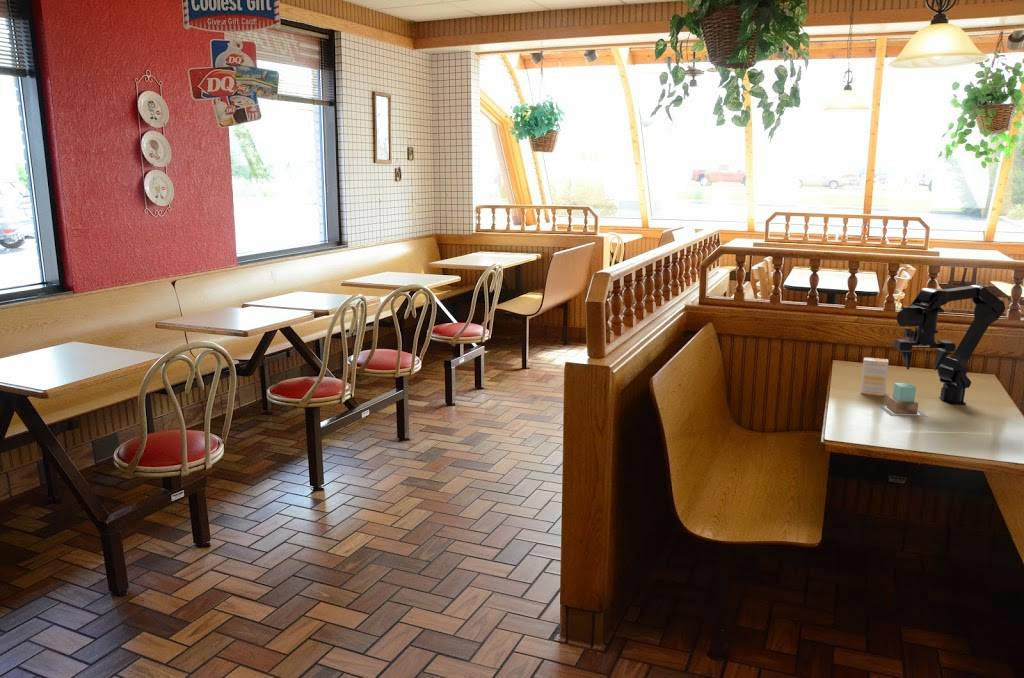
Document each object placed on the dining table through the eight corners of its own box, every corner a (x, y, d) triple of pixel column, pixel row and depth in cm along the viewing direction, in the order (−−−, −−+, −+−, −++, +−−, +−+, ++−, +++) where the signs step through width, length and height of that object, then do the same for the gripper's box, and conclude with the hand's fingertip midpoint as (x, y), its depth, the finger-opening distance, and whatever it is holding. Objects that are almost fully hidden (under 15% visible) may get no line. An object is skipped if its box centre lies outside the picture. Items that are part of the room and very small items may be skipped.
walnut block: (907, 407, 271) (909, 396, 271) (916, 414, 265) (918, 402, 264) (886, 407, 272) (888, 395, 271) (895, 413, 265) (897, 402, 264)
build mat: (911, 406, 274) (911, 405, 274) (927, 417, 262) (928, 416, 262) (876, 405, 274) (876, 404, 274) (890, 417, 263) (891, 415, 263)
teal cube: (907, 397, 270) (909, 383, 268) (914, 401, 265) (916, 387, 264) (892, 397, 270) (894, 382, 269) (898, 401, 265) (900, 387, 264)
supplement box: (884, 394, 288) (888, 359, 285) (884, 397, 284) (888, 362, 281) (860, 391, 292) (864, 356, 289) (859, 394, 287) (863, 359, 284)
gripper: (943, 321, 278) (937, 364, 281) (889, 320, 278) (884, 363, 282) (959, 327, 267) (953, 372, 270) (903, 326, 268) (897, 371, 271)
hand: (921, 369), depth 274 cm, fingers open, 9 cm apart
